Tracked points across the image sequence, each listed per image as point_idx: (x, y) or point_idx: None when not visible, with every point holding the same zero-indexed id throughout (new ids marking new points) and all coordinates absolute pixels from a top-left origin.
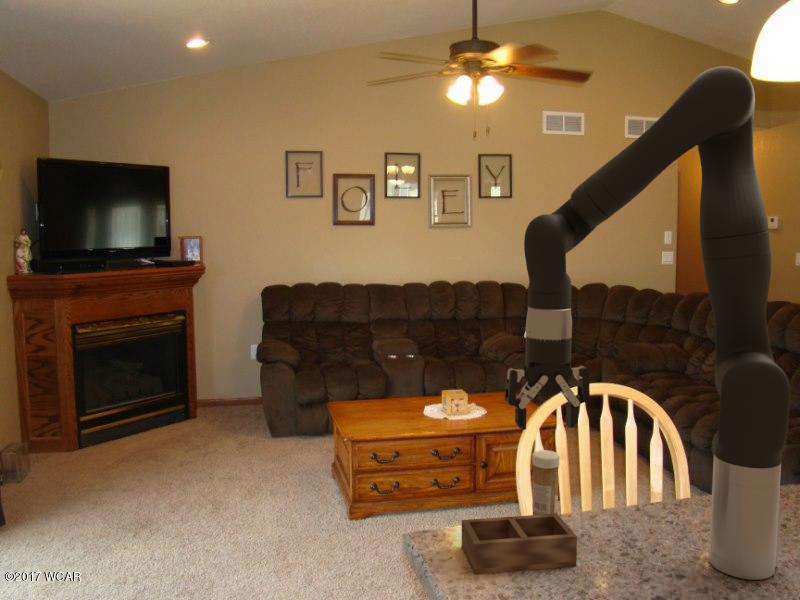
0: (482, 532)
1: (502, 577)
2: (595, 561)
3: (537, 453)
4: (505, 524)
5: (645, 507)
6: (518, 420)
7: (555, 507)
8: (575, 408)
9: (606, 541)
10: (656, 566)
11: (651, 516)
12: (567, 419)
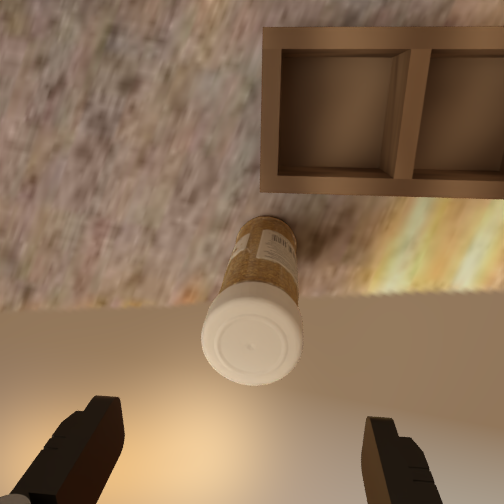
0: (477, 175)
1: (475, 12)
2: (211, 58)
3: (282, 356)
4: (417, 176)
5: (8, 297)
6: (423, 469)
7: (244, 239)
8: (29, 491)
9: (149, 155)
10: (76, 6)
11: (8, 254)
12: (108, 455)
